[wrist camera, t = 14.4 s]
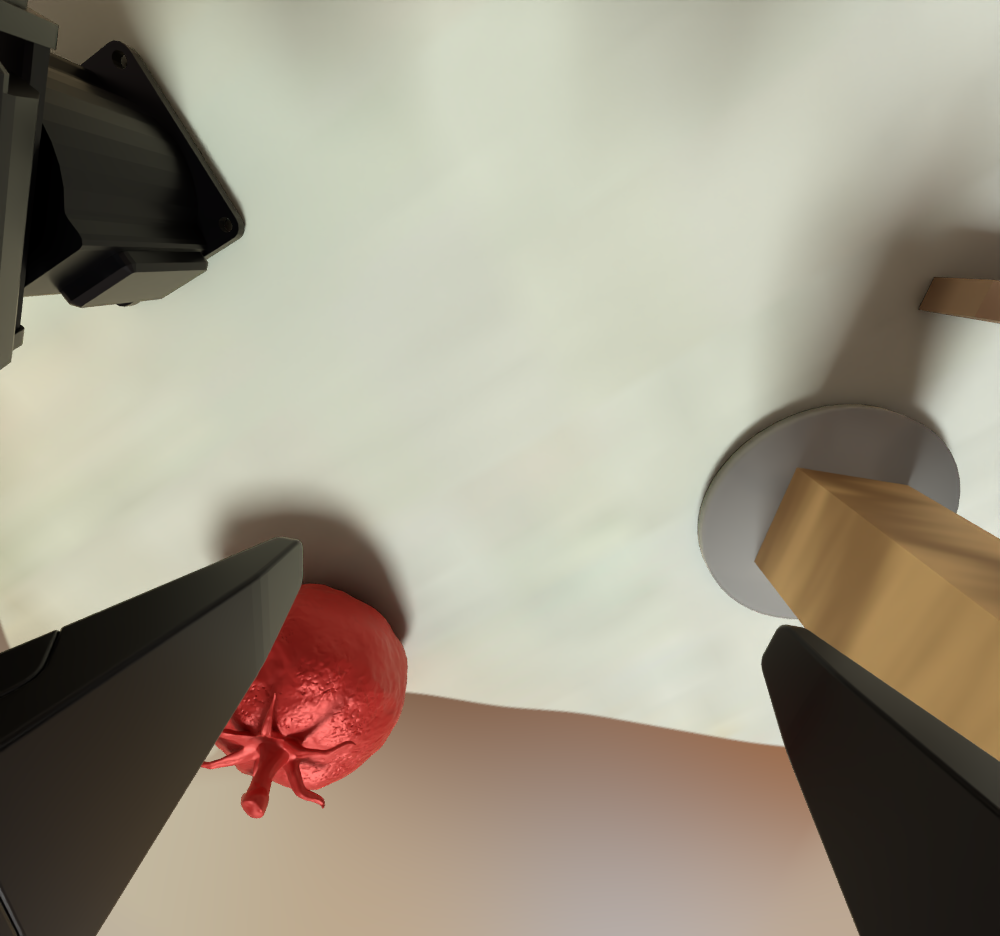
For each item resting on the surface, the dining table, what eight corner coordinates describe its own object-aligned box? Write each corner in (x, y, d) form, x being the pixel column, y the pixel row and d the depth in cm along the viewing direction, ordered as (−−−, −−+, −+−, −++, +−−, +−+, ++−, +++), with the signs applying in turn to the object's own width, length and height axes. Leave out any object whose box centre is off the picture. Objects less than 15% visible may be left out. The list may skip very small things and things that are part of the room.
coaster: (667, 465, 22) (672, 472, 21) (929, 360, 19) (945, 364, 19) (732, 634, 25) (738, 645, 25) (957, 564, 23) (971, 573, 22)
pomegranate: (327, 525, 24) (222, 666, 15) (452, 649, 27) (423, 826, 18) (204, 617, 26) (54, 782, 18) (330, 721, 29) (253, 907, 21)
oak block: (754, 561, 23) (1013, 899, 11) (796, 467, 21) (1176, 754, 9) (855, 577, 23) (1222, 927, 11) (907, 485, 21) (1431, 791, 9)
